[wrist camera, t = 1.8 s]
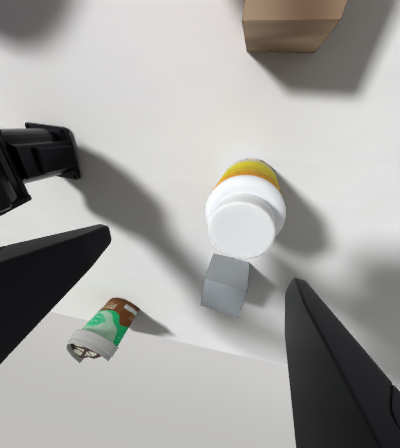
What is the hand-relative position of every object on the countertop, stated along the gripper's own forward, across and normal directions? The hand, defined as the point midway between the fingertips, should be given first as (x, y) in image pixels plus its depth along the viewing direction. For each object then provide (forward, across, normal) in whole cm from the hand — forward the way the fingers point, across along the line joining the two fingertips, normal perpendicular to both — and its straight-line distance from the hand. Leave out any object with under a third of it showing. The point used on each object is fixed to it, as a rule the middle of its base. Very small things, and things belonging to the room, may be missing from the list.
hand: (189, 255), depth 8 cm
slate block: (+13, -2, +13) cm, 19 cm away
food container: (+13, +20, +32) cm, 40 cm away
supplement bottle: (+14, -2, 0) cm, 14 cm away
